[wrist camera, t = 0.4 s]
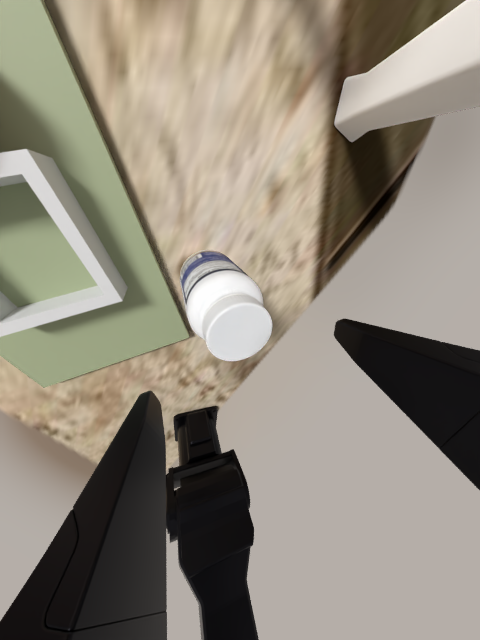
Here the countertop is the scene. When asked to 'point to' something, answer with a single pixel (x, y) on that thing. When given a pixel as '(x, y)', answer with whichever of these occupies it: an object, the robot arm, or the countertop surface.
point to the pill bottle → (224, 306)
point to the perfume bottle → (418, 77)
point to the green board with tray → (67, 221)
